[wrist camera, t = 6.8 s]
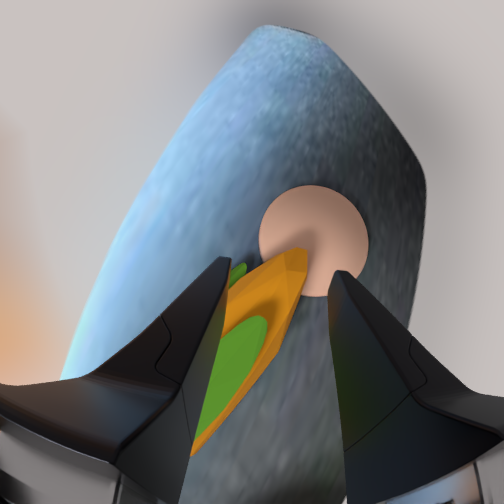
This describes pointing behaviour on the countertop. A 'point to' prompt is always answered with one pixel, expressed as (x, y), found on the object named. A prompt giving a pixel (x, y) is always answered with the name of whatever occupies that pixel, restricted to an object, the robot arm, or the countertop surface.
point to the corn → (250, 333)
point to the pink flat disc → (315, 234)
